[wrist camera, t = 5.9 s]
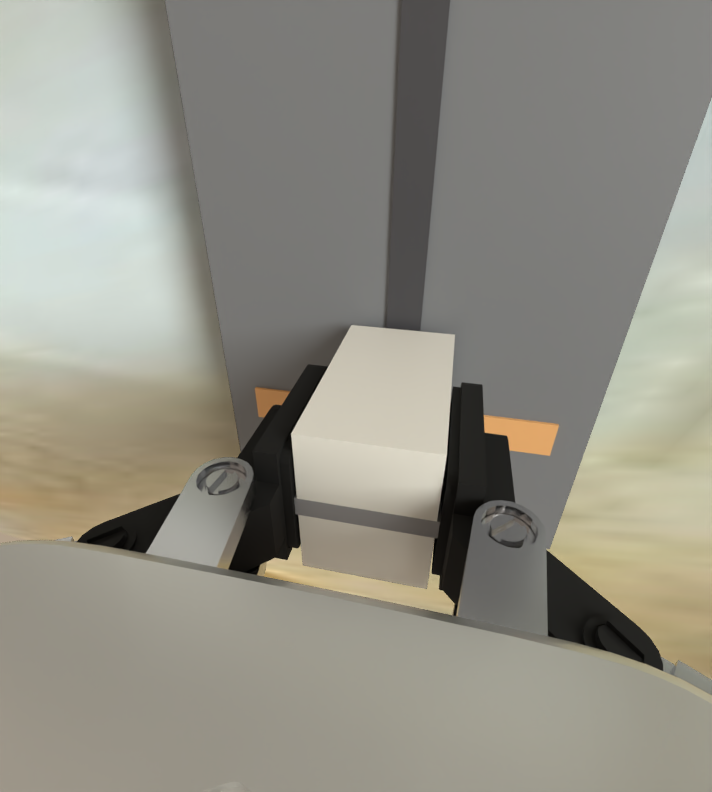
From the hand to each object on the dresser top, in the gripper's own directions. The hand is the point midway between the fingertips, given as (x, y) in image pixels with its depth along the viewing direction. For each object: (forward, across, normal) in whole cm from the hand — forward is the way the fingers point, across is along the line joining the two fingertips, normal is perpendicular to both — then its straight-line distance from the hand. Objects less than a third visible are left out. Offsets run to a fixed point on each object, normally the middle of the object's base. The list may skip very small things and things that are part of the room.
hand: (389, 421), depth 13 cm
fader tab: (+2, 0, 0) cm, 2 cm away
